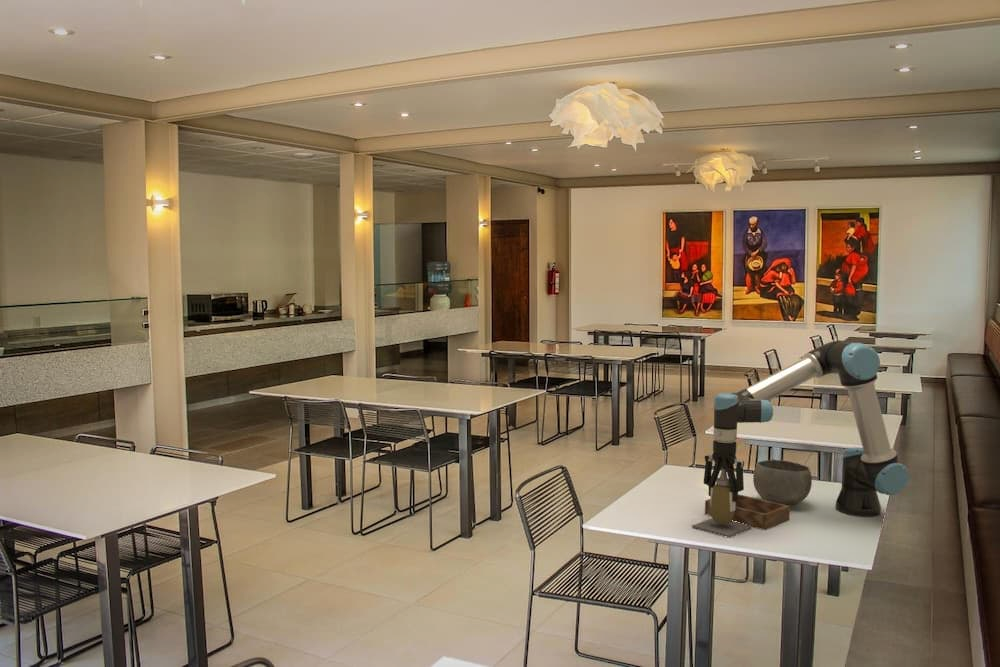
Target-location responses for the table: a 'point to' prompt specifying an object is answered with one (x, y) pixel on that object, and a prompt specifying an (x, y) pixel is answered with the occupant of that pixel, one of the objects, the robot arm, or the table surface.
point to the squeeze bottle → (721, 500)
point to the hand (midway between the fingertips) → (722, 508)
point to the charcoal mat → (722, 527)
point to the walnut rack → (757, 512)
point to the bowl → (782, 481)
